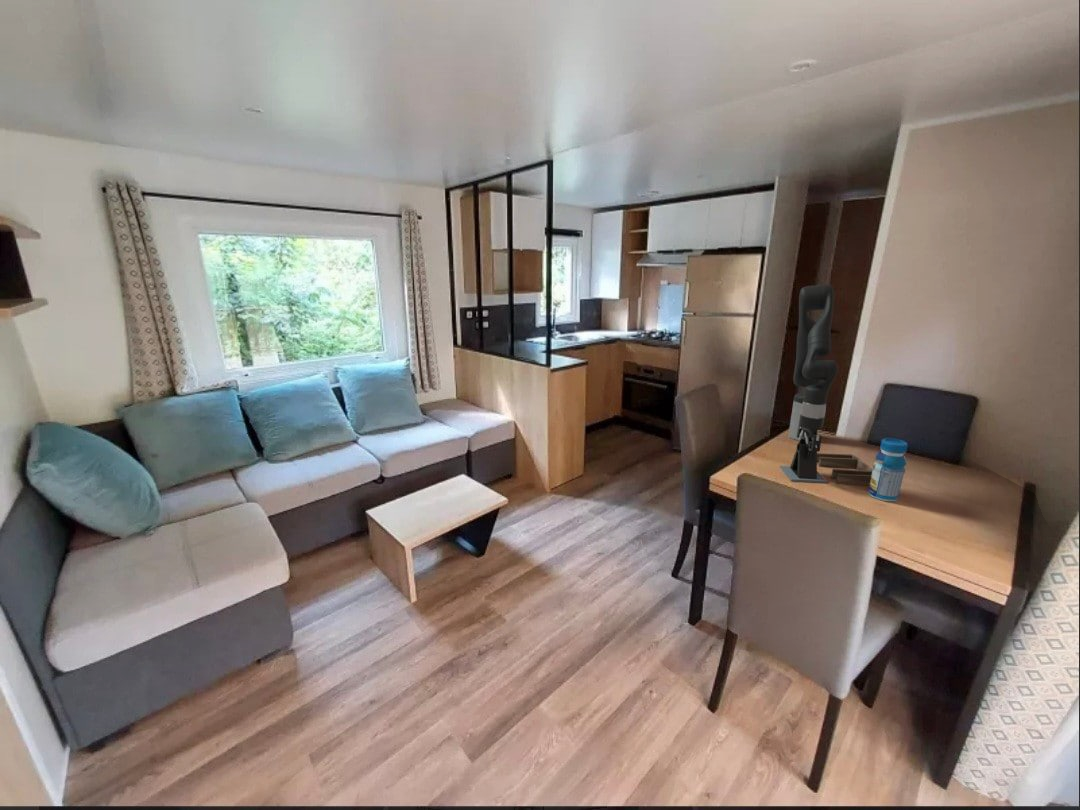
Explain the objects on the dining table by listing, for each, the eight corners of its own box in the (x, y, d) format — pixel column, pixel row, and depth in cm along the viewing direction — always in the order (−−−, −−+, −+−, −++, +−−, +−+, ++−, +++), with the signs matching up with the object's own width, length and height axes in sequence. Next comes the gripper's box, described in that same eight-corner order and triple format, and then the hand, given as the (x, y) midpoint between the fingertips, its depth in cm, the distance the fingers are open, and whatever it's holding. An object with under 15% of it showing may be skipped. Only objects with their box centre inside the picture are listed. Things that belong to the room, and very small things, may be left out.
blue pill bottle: (887, 504, 144) (900, 447, 138) (861, 493, 151) (872, 439, 145) (904, 499, 147) (917, 443, 141) (877, 488, 154) (889, 435, 148)
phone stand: (789, 467, 170) (794, 439, 166) (806, 468, 168) (811, 439, 165) (798, 478, 161) (803, 448, 158) (816, 479, 160) (822, 448, 157)
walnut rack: (813, 461, 177) (815, 453, 176) (852, 462, 175) (853, 454, 174) (837, 483, 158) (839, 474, 157) (880, 485, 156) (882, 476, 155)
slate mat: (779, 467, 172) (779, 465, 172) (812, 469, 170) (813, 467, 170) (791, 481, 161) (791, 479, 160) (826, 483, 159) (827, 481, 158)
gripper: (793, 407, 166) (787, 447, 170) (809, 420, 152) (802, 462, 157) (815, 408, 164) (808, 448, 169) (833, 420, 151) (825, 463, 156)
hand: (805, 455), depth 163 cm, fingers open, 8 cm apart
